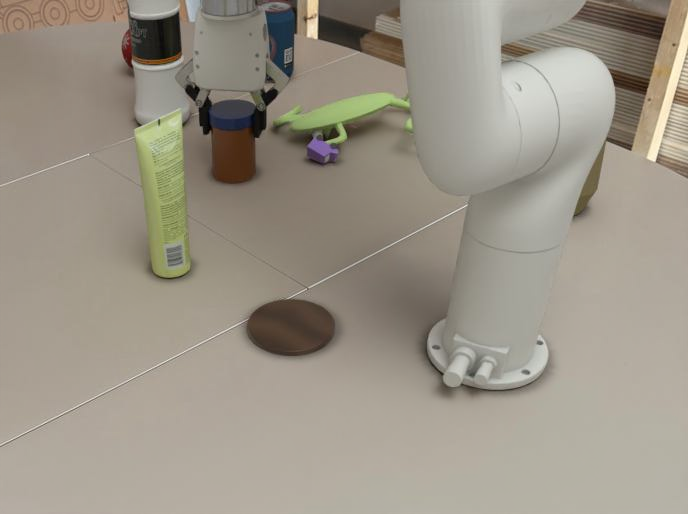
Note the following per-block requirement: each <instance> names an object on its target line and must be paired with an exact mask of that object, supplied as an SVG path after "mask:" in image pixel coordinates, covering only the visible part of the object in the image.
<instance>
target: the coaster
mask: <svg viewBox="0 0 688 514" xmlns="http://www.w3.org/2000/svg"><path fill="white" fill-rule="evenodd" d="M335 330H336V322H335V319H334V317H333V315H332V314H331V313H330V312H329V311H328V310H327V309H326V308H325V307H323V306H321V305H320V304H317V303H315V302H312V301H309V300H305V299H297V298H284V299H277V300H273V301H269V302H267V303H265V304H262V305H261V306H259V307H258V308H256V309H254V311H253V312H252V313H251V315H250V316H249V318H248V321H247V333H248V337H249V338H250V340H251V341H252V342H253V343H254V344H255V345H256V346H257V347H259V348H260V349H261V350H265V351H266V352H269V353H271V354H276V355H279V356H280V355H281V356H302V355H307V354H311V353H314V352H316V351H318V350H321V349H322V348H324V347H326V345H328V344H329V343H330V342H331V341H332V339H333V337H334V335H335V332H336V331H335Z"/></svg>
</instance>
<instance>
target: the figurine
mask: <svg viewBox="0 0 688 514" xmlns="http://www.w3.org/2000/svg"><path fill="white" fill-rule="evenodd" d="M408 100H409V94H408V92H407V93H406V95H405V96H404V97H403V98H398V97H396V96H395V95H394V94H393V93H390V92H385V91H382V92H375V93H374V92H373V93H367V94H361V95H357V96H353V97H348V98H343V99H341V100H338V101H334V102H331V103H328V104H326V105H323V106H320V107H318V108H316V109H313V110H310V111H309V112H307V113H305V114H300V113H302V111H303V108H302V107H303V106H302V105H301V104H297V105H296V106H295V107H294V108H292V109H291V110H289V111H288V112H286V113H284V114H283V115H281V116H278V117H276V118H274V119H273V121H272V125H273V127H276V128H277V127H279V126H282V125H285V124H288V123H291V124H290V126H289V129H290V130H292V131H293V132H296V133H308V134H309V135H312V138H313V139H312V140H311V141H310V142H309V144H308V145H307V146H306V157H308V158H309V159H312V160H314V161H316V162H318V163H320V164H322V165H324V164H326V163H328V162H330V163H335V162H336V161H337V160H338V156H339V152H340V150H339V149H337V148H338V145H339V144H343V143H344V142H346V141H347V139H348V135H347V132H346V130H345V127H344V125H347V126H350V127H353V128H357V129H359V127H358V126H356V125H353V124H351V123H354V122H357V121H359V120H362V119H365V118H368V117H370V116H372V115H375V114H377V113H379V112H380V111H383V110H384V109H386V108H388V107H392V108H396V109H397V108H398V109H401V110H404V111H409V112H410V103H409V101H408ZM333 128H335V130H336V131H337V133H338V135H339V136H338V137H337V136H336V137H335V138H332V139H329V140H328V138H329V136H330V133H331V131H332V129H333ZM403 128H404V131H405V132H407V133H408V134H410V135H411V134H412V135H413V128H412V120H411V117H410V118H408V119H407V120H406V122H405V123H404V127H403ZM324 137H325V139H326V141H324Z"/></svg>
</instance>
